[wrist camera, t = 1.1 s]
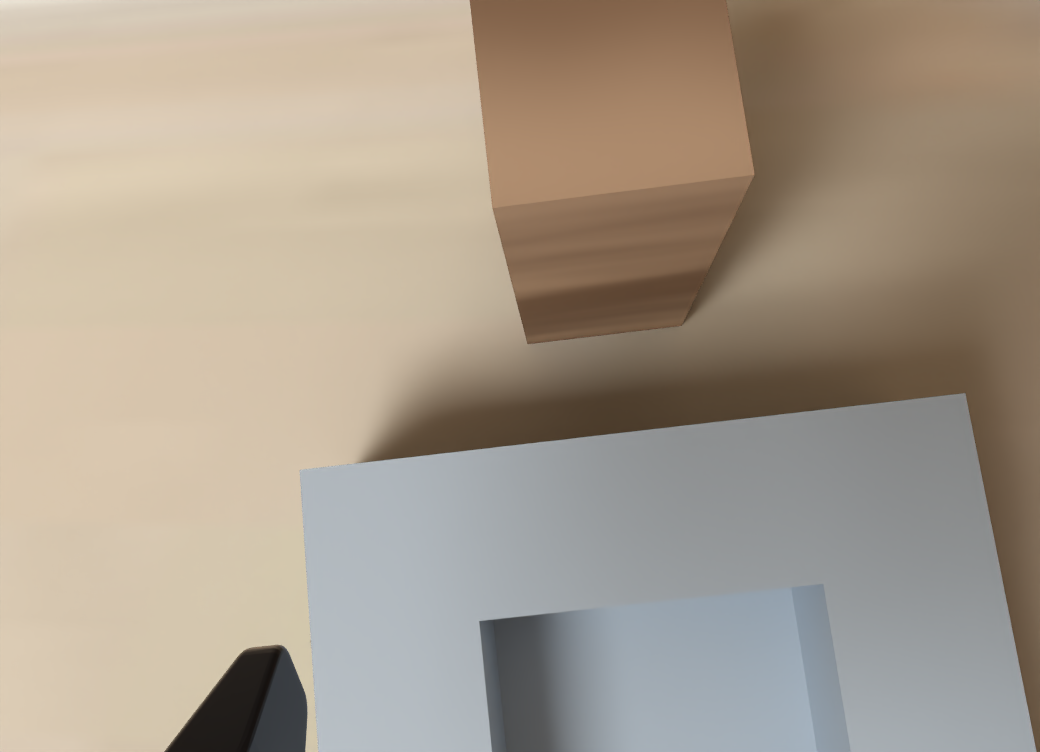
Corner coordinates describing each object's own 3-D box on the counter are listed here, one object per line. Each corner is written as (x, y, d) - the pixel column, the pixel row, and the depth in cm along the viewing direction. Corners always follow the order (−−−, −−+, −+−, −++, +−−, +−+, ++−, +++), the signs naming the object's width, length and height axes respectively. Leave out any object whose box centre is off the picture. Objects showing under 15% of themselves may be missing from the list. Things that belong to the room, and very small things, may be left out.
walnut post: (681, 325, 24) (754, 174, 14) (527, 343, 24) (492, 207, 14) (660, 179, 25) (715, -62, 15) (511, 198, 25) (466, -28, 15)
